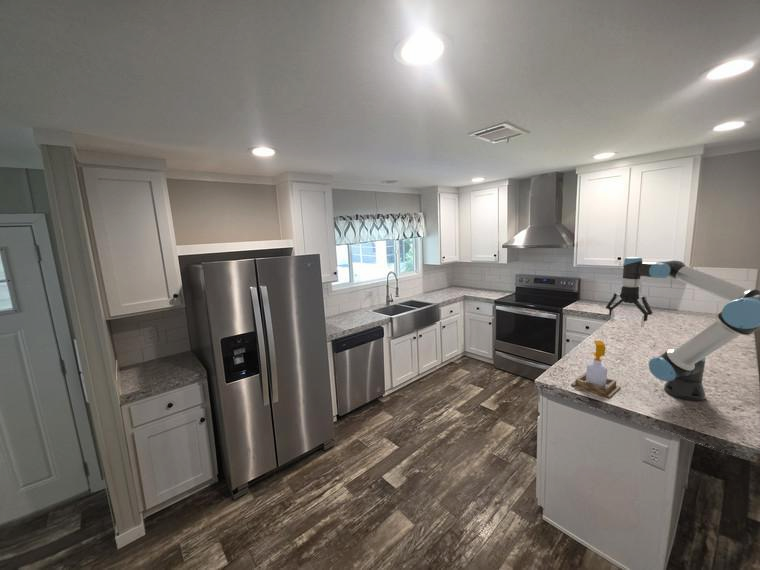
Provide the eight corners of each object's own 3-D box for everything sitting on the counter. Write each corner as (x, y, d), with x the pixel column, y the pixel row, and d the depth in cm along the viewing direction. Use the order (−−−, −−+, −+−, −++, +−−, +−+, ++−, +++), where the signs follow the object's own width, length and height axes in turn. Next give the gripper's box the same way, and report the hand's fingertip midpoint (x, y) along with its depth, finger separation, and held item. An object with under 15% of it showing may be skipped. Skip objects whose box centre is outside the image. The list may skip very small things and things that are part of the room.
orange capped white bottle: (601, 381, 174) (605, 339, 170) (608, 389, 165) (612, 345, 161) (583, 380, 176) (586, 338, 172) (589, 387, 168) (592, 344, 164)
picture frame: (620, 388, 168) (621, 381, 168) (609, 398, 159) (610, 391, 158) (583, 376, 183) (583, 370, 182) (571, 385, 173) (571, 378, 173)
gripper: (662, 287, 161) (658, 327, 165) (606, 282, 181) (603, 318, 185) (658, 289, 157) (654, 330, 160) (601, 284, 177) (598, 320, 180)
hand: (626, 324), depth 172 cm, fingers open, 13 cm apart
